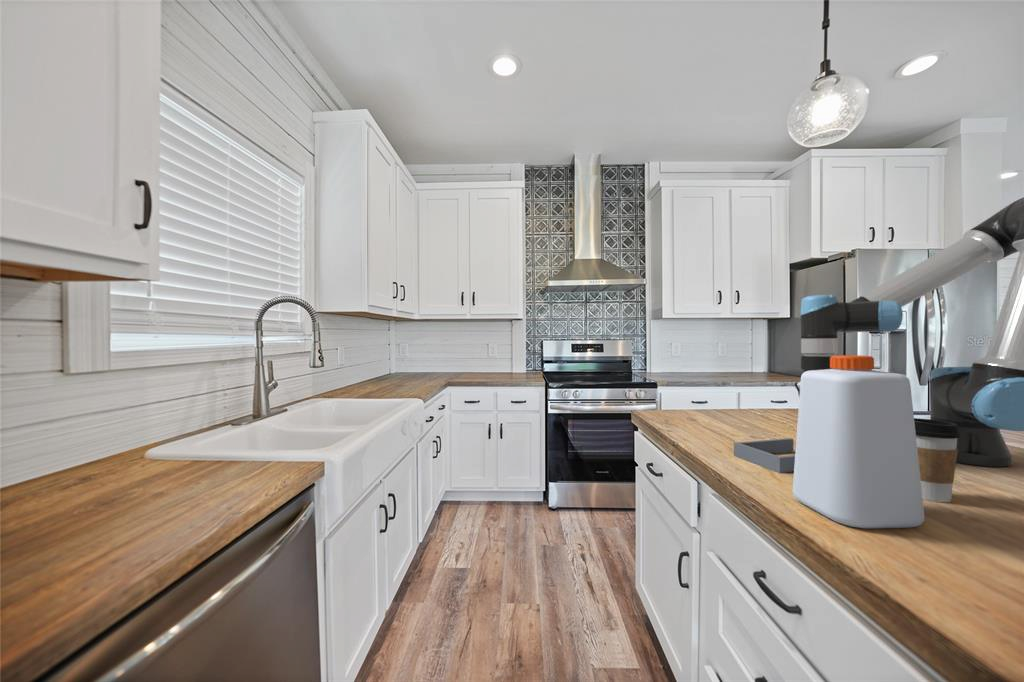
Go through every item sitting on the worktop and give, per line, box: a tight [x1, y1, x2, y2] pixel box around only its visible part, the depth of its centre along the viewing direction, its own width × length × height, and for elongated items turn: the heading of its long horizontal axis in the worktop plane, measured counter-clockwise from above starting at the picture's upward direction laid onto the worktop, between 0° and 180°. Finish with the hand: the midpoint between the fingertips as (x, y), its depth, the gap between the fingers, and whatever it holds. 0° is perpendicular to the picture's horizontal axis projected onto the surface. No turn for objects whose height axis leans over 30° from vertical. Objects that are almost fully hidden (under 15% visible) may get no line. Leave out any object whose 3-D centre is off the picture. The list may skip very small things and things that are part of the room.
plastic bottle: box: [792, 354, 926, 529], centre depth 71 cm, size 15×15×28 cm
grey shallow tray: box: [733, 437, 795, 474], centre depth 100 cm, size 18×14×4 cm
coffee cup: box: [914, 417, 960, 503], centre depth 77 cm, size 8×8×15 cm
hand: (819, 446), depth 102 cm, fingers closed
